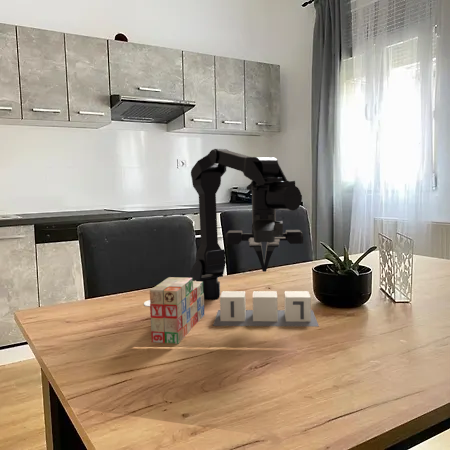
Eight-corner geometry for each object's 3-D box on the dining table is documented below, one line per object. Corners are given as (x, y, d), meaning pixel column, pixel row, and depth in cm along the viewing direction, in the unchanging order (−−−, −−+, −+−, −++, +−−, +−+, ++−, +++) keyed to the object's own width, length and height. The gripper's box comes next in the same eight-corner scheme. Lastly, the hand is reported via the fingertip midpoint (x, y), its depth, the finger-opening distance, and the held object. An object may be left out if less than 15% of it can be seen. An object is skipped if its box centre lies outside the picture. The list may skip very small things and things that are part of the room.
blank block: (253, 321, 110) (252, 297, 110) (253, 313, 116) (253, 291, 115) (277, 321, 110) (277, 297, 109) (276, 314, 116) (276, 291, 115)
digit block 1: (220, 321, 111) (219, 297, 110) (222, 313, 117) (222, 291, 116) (244, 321, 110) (244, 297, 110) (245, 313, 116) (245, 291, 116)
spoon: (181, 292, 143) (180, 290, 143) (156, 307, 126) (156, 306, 126) (165, 291, 145) (165, 289, 145) (139, 306, 127) (139, 304, 127)
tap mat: (212, 327, 107) (212, 325, 107) (218, 311, 120) (218, 309, 120) (318, 327, 105) (318, 326, 105) (312, 311, 118) (312, 310, 118)
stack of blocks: (181, 315, 118) (180, 269, 117) (204, 316, 117) (203, 269, 115) (151, 344, 97) (148, 289, 96) (178, 346, 96) (176, 289, 95)
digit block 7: (285, 321, 109) (285, 297, 109) (284, 314, 115) (284, 291, 115) (310, 321, 109) (310, 297, 108) (308, 314, 115) (308, 291, 114)
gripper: (223, 211, 103) (224, 278, 104) (305, 210, 101) (305, 278, 103) (226, 208, 114) (227, 269, 116) (301, 207, 112) (301, 268, 114)
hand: (264, 271), depth 112 cm, fingers closed
